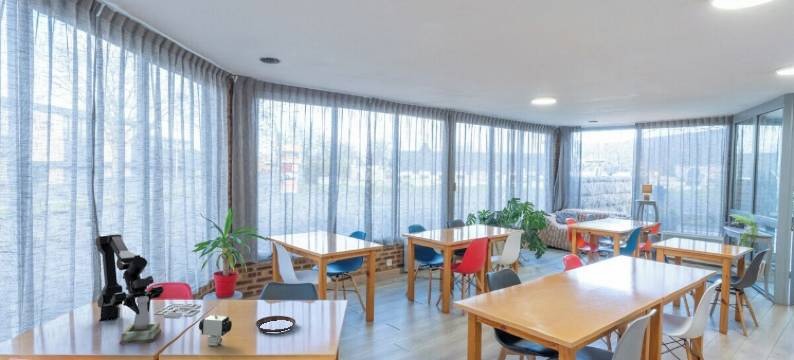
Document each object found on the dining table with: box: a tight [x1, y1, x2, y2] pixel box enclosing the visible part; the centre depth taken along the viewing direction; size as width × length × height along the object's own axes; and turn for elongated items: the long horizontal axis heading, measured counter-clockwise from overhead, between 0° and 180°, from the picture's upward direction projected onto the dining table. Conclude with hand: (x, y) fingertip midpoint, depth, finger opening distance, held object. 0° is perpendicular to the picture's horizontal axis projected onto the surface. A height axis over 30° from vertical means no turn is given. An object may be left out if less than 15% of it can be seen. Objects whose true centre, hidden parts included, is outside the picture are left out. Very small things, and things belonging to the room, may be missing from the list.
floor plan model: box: [153, 302, 202, 319], centre depth 203 cm, size 19×25×2 cm
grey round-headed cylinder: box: [133, 296, 151, 330], centre depth 169 cm, size 6×6×13 cm
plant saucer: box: [255, 315, 297, 333], centre depth 186 cm, size 18×18×3 cm
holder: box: [118, 322, 162, 345], centre depth 169 cm, size 12×12×4 cm
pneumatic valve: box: [198, 314, 233, 347], centre depth 166 cm, size 6×12×12 cm, turn 86°
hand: (143, 312), depth 168 cm, fingers closed on grey round-headed cylinder, 3 cm apart
